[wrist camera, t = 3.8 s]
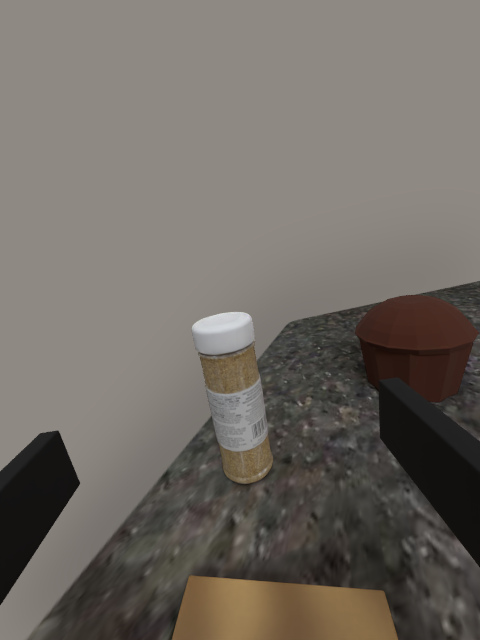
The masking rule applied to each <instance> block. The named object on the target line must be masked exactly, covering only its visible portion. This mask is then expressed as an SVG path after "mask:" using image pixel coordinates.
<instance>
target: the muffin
mask: <svg viewBox="0 0 480 640" xmlns="http://www.w3.org/2000/svg"><path fill="white" fill-rule="evenodd" d="M478 333H479V332H478V331H477V330H476V329H475V328H474V327H473V325H472V324H471V323H470V322H469V321H468V319H467V318H466V317H465V316H464V315H463V314H462V313H461V312H460V311H459V310H458V309H457V308H456V307H455V306H453V305H451V304H450V303H448V302H446V301H443V300H441V299H439V298H435V297H431V296H423V295H406V296H399V297H395V298H391V299H387V300H386V301H384V302H382V303H380V304H379V305H377V306H375V307H374V308H372V309H371V310H369V311H368V312H367V314H366V315H365V316H364V317H363V318H362V320H361V321H360V322H359V324H358V325H357V326H356V331H355V334H356V335H357V337H358V338H359V340H360V344H361V349H362V354H363V358H364V363H365V368H366V372H367V377H368V382H370V383H371V384H372V385H374V386H375V387H376V388H377V389H378V390H379V380H383V379H390V378H396V377H398V378H399V379H401V380H402V381H403V382H405V383H406V384H407V385H408V386H410V387H411V388H412V389H413V390H415V391H416V392H417V393H419V394H420V395H421V396H422V397H424V398H425V399H426V400H427V401H429V402H441V401H442V400H444V399H445V398H447V397H449V396H451V395H454V394H457V393H458V390H459V387H460V384H461V380H462V377H463V374H464V371H465V368H466V365H467V361H468V358H469V355H470V352H471V349H472V346H473V341H474V340H475V338H476V337H477V335H478Z"/></svg>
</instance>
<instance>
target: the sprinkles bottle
mask: <svg viewBox="0 0 480 640" xmlns="http://www.w3.org/2000/svg"><path fill="white" fill-rule="evenodd" d="M192 334H193V339H194V344H195V348H196V350H197V351H198V354H199V356H200V360H201V364H202V368H203V372H204V373H203V374H204V378H205V384H206V385H205V387H206V392H207V397H208V401H209V406H210V410H211V414H212V419H213V424H214V428H215V433H216V437H217V440H218V442H219V447H220V451H221V456H222V466H223V470H224V472H225V474H226V476H227V477H228V478H230V479H231V480H232V481H235V482H237V483H242V484H248V483H252V482H256V481H258V480H260V479H262V478H264V477H265V476H266V475H267V473H268V472H269V470H270V469H271V467H272V463H273V456H272V452H271V450H270V445H269V439H268V426H267V419H266V413H265V406H264V399H263V393H262V386H261V380H260V375H259V373H258V368H257V362H256V356H255V350H254V344H255V341H254V339H255V335H254V328H253V323H252V318H251V317H250V315H248V314H246V313H242V312H229V313H221V314H216V315H212V316H209V317H206V318H203V319H201V320H199V321H197V322H196V323H195V324H194V325H193V326H192Z"/></svg>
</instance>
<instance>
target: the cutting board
mask: <svg viewBox="0 0 480 640" xmlns="http://www.w3.org/2000/svg"><path fill="white" fill-rule="evenodd" d="M172 640H398V637H397V633H396V630H395V626H394V623H393V620H392V616H391V613H390V609H389V606H388V602H387V599H386V596H385V592H384V591H381V590H369V589H356V588H343V587H331V586H318V585H305V584H293V583H280V582H267V581H255V580H242V579H229V578H217V577H204V576H191V575H190V576H189V578H188V582H187V585H186V589H185V593H184V596H183V600H182V604H181V607H180V611H179V615H178V618H177V622H176V626H175V629H174V633H173V637H172Z"/></svg>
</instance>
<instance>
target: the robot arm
mask: <svg viewBox="0 0 480 640" xmlns="http://www.w3.org/2000/svg"><path fill="white" fill-rule="evenodd" d="M379 416H380V438H381V440H382V441H383V442H384V444H385V445H386V446H387V448H388V449H389V450H390V451H391V453H392V454H393V455H394V457H395V458H396V459H397V461H398V462H399V463H400V464H401V466H402V467H403V468H404V470H405V471H406V472H407V473H408V475H409V476H410V477H411V479H412V480H413V481H414V483H415V484H416V485H417V486H418V488H419V489H420V490H421V492H422V493H423V494H424V496H425V497H426V498H427V499H428V501H429V502H430V503H431V505H432V506H433V507H434V508H435V510H436V511H437V512H438V514H439V515H440V516H441V518H442V519H443V520H444V521H445V523H446V524H447V525H448V527H449V528H450V529H451V531H452V532H453V533H454V534H455V536H456V537H457V538H458V540H459V541H460V542H461V543H462V545H463V546H464V547H465V549H466V550H467V551H468V553H469V554H470V555H471V556H472V558H473V559H474V560H475V562H476V563H477V564H478V566H479V567H480V441H478V440H477V439H476V438H475V437H473V436H472V435H471V434H470V433H468V432H467V431H466V430H464V429H463V428H462V427H461V426H459V425H458V424H457V423H456V422H454V421H453V420H452V419H450V418H449V417H448V416H447V415H445V414H444V413H443V412H441V411H440V410H439V409H438V408H436V407H435V406H434V405H433V404H431V403H430V402H429V401H427V400H426V399H425V398H424V397H422V396H421V395H420V394H419V393H417V392H416V391H415V390H413V389H412V388H411V387H410V386H408V385H407V384H406V383H405V382H403V381H402V380H401V379H399V378H398V377H396V378H390V379H383V380H379ZM79 484H80V482H79V480H78V477H77V475H76V472H75V470H74V467H73V465H72V462H71V460H70V457H69V455H68V453H67V450H66V448H65V445H64V443H63V440H62V438H61V435H60V433H59V431H52V432H46V433H40V434H39V435H38V436H37V437H36V438H35V439H34V440H33V441H32V442H31V443H30V444H29V445H28V446H27V447H25V448H24V449H23V450H22V451H21V452H20V453H19V454H18V455H17V456H16V457H15V458H14V459H13V460H12V461H11V462H10V463H9V464H8V465H7V466H6V467H4V468H3V470H1V471H0V605H1V603H2V602H3V600H4V599H5V597H6V596H7V594H8V593H9V591H10V590H11V588H12V587H13V585H14V584H15V582H16V580H17V579H18V577H19V576H20V574H21V573H22V571H23V570H24V568H25V567H26V565H27V564H28V562H29V561H30V559H31V558H32V556H33V555H34V553H35V552H36V550H37V549H38V547H39V545H40V544H41V542H42V541H43V539H44V538H45V536H46V535H47V533H48V532H49V530H50V529H51V527H52V526H53V524H54V523H55V521H56V519H57V518H58V517H59V515H60V514H61V512H62V510H63V509H64V507H65V506H66V504H67V503H68V501H69V499H70V498H71V497H72V495H73V494H74V492H75V491H76V489H77V488H78V486H79Z"/></svg>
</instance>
